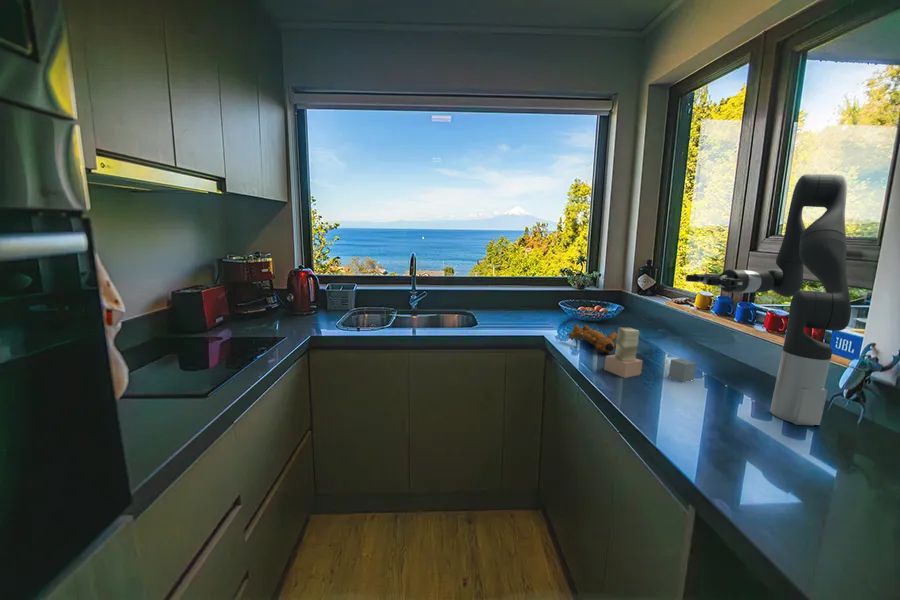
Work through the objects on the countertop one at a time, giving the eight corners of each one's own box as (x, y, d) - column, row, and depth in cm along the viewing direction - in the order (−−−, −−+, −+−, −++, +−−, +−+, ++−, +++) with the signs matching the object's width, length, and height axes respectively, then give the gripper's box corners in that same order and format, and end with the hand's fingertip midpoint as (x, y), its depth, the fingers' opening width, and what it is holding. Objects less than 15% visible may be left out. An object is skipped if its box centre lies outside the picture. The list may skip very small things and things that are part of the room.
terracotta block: (640, 375, 130) (642, 360, 129) (624, 378, 127) (626, 363, 126) (620, 367, 137) (621, 353, 136) (604, 370, 133) (605, 356, 133)
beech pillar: (635, 360, 129) (639, 331, 127) (622, 361, 128) (626, 331, 126) (626, 356, 133) (630, 327, 131) (614, 356, 132) (618, 327, 131)
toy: (557, 337, 176) (583, 356, 147) (559, 322, 175) (585, 338, 146) (601, 339, 177) (635, 358, 148) (602, 324, 176) (638, 340, 147)
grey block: (693, 380, 127) (696, 363, 126) (682, 382, 125) (685, 364, 124) (678, 375, 131) (681, 358, 130) (668, 377, 129) (671, 359, 128)
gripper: (723, 267, 136) (682, 266, 133) (762, 272, 122) (717, 270, 119) (719, 289, 137) (678, 288, 134) (757, 296, 123) (713, 295, 121)
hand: (696, 279), depth 127 cm, fingers open, 8 cm apart
